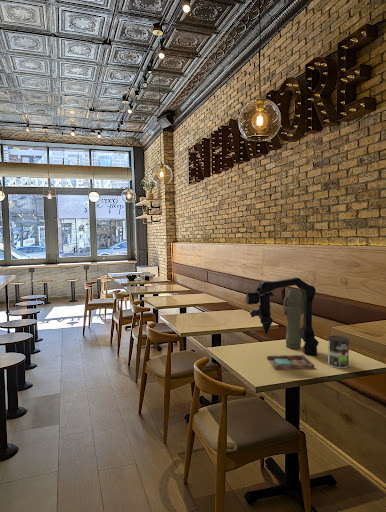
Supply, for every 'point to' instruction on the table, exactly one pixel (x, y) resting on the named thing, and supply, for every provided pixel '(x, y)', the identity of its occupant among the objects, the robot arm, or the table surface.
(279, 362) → the cover plate
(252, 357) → the table surface
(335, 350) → the coffee can
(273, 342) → the table surface
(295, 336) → the thermos
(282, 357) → the brown flat tray
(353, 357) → the table surface
